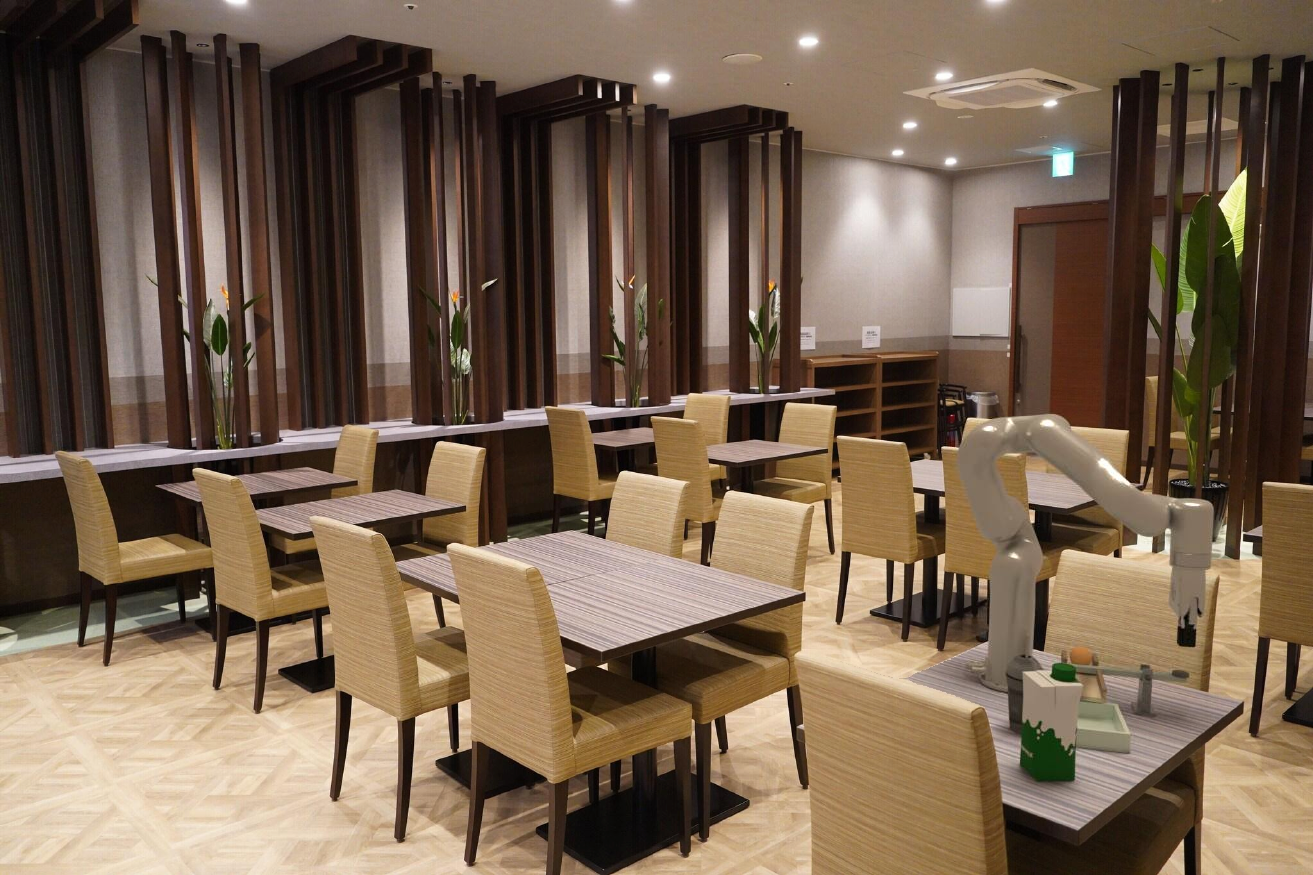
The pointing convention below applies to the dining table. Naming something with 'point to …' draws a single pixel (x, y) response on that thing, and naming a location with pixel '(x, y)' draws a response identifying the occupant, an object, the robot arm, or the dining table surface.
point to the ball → (1080, 656)
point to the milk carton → (1050, 722)
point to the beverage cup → (1018, 686)
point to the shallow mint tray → (1102, 727)
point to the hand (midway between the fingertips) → (1186, 645)
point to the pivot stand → (1144, 693)
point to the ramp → (1090, 681)
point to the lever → (1133, 673)
